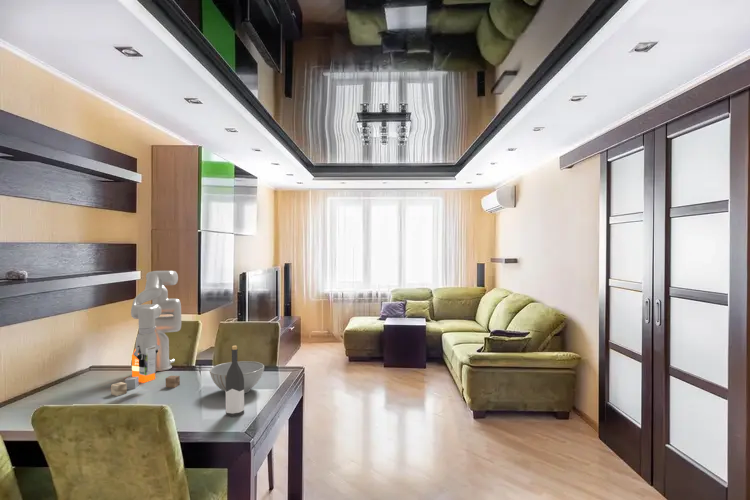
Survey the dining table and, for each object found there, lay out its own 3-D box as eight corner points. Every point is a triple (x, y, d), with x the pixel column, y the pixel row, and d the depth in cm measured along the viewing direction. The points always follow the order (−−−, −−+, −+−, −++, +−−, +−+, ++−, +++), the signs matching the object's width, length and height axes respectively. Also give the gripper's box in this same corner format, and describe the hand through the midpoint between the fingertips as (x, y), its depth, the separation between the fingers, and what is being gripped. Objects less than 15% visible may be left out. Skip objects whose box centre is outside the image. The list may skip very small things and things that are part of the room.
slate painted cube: (128, 386, 238) (128, 376, 238) (138, 385, 239) (138, 376, 239) (124, 389, 233) (124, 379, 233) (135, 388, 234) (134, 379, 234)
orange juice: (144, 382, 244) (143, 346, 244) (131, 381, 247) (131, 345, 247) (155, 378, 252) (155, 343, 251) (143, 377, 254) (143, 342, 254)
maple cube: (121, 391, 229) (121, 382, 229) (126, 393, 227) (126, 383, 227) (111, 394, 225) (111, 384, 225) (116, 396, 222) (116, 386, 222)
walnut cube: (170, 384, 241) (170, 375, 241) (179, 385, 240) (179, 375, 240) (165, 387, 236) (165, 378, 236) (174, 387, 235) (174, 378, 235)
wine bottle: (246, 410, 202) (246, 343, 202) (241, 416, 194) (241, 347, 194) (228, 410, 202) (228, 344, 202) (223, 417, 194) (222, 348, 194)
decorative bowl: (207, 402, 212) (207, 377, 212) (212, 385, 238) (211, 363, 238) (265, 397, 220) (265, 372, 220) (263, 381, 245) (263, 359, 245)
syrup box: (138, 374, 231) (138, 346, 230) (149, 371, 236) (148, 344, 235) (145, 376, 228) (145, 347, 227) (156, 373, 233) (155, 345, 233)
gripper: (155, 327, 240) (155, 360, 241) (126, 333, 224) (127, 369, 225) (165, 328, 238) (166, 361, 238) (137, 334, 222) (138, 370, 222)
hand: (147, 364), depth 232 cm, fingers closed on syrup box, 6 cm apart
